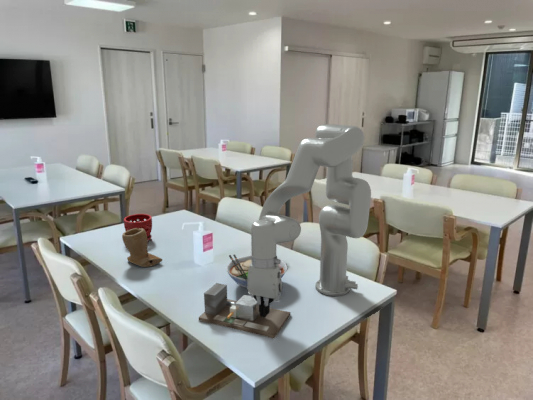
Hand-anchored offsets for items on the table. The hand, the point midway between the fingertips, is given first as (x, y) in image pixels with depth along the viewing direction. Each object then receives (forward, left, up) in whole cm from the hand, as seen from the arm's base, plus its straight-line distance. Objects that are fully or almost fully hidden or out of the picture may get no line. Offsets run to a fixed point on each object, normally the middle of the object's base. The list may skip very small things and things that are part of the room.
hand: (264, 314), depth 129 cm
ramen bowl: (+13, -23, -3) cm, 27 cm away
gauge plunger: (+8, 0, -1) cm, 8 cm away
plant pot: (+86, -45, -3) cm, 97 cm away
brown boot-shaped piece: (+67, -23, -3) cm, 71 cm away
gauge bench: (+7, 0, -3) cm, 7 cm away
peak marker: (+9, +4, -1) cm, 10 cm away
